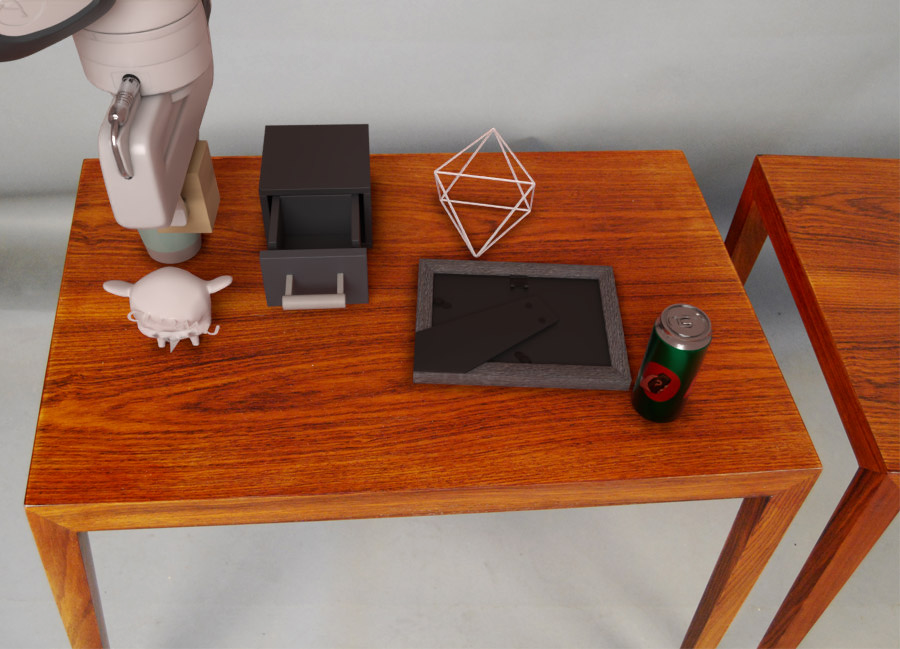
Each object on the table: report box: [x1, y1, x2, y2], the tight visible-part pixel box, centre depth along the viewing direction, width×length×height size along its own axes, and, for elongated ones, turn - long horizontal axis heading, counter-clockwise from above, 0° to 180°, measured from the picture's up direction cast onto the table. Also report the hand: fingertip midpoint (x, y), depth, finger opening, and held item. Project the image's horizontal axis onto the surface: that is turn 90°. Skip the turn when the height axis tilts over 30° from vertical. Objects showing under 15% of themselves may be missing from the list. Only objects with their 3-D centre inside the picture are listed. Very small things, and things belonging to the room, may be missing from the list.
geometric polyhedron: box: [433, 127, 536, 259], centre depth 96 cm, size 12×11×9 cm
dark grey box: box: [258, 123, 374, 250], centre depth 96 cm, size 12×12×9 cm
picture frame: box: [412, 258, 632, 392], centre depth 88 cm, size 16×2×21 cm
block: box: [157, 139, 221, 234], centre depth 69 cm, size 4×4×6 cm
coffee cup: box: [136, 229, 203, 265], centre depth 90 cm, size 8×8×12 cm
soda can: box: [630, 303, 714, 424], centre depth 78 cm, size 5×5×12 cm
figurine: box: [102, 266, 234, 353], centre depth 83 cm, size 12×8×10 cm
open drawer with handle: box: [258, 194, 370, 311], centre depth 88 cm, size 15×10×7 cm
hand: (184, 197), depth 70 cm, fingers closed on block, 4 cm apart
